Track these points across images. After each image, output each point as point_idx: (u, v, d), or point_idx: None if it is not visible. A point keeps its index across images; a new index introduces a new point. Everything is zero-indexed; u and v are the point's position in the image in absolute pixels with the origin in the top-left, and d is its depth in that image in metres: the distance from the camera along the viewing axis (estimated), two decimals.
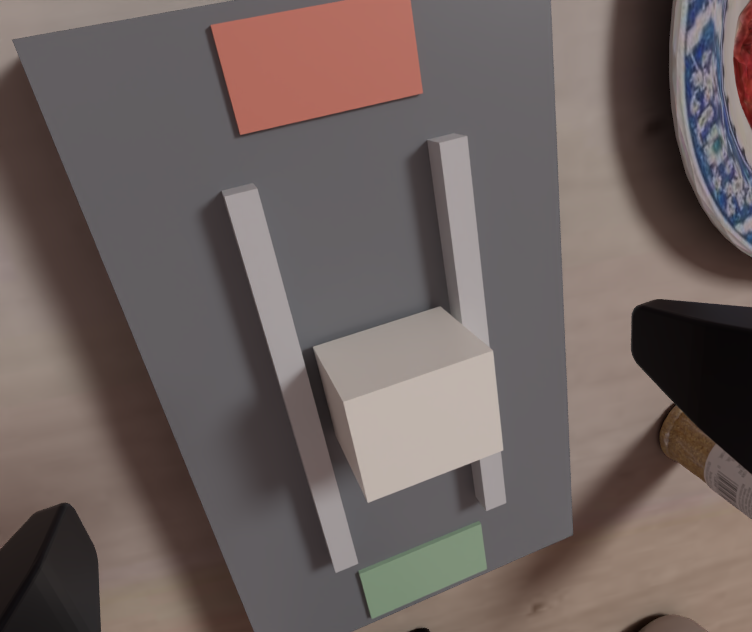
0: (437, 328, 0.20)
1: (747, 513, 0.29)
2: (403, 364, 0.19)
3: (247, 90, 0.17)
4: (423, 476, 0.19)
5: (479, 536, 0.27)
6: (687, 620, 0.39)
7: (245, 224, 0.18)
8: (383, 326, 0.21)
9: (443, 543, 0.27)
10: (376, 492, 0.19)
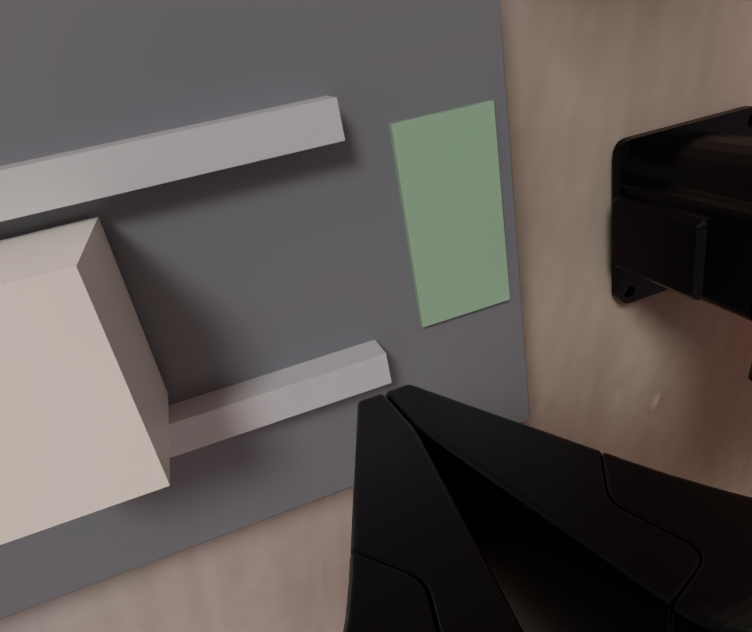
0: None
1: None
2: None
3: None
4: (126, 409, 0.11)
5: (418, 124, 0.15)
6: None
7: None
8: None
9: (411, 195, 0.16)
10: (150, 477, 0.12)
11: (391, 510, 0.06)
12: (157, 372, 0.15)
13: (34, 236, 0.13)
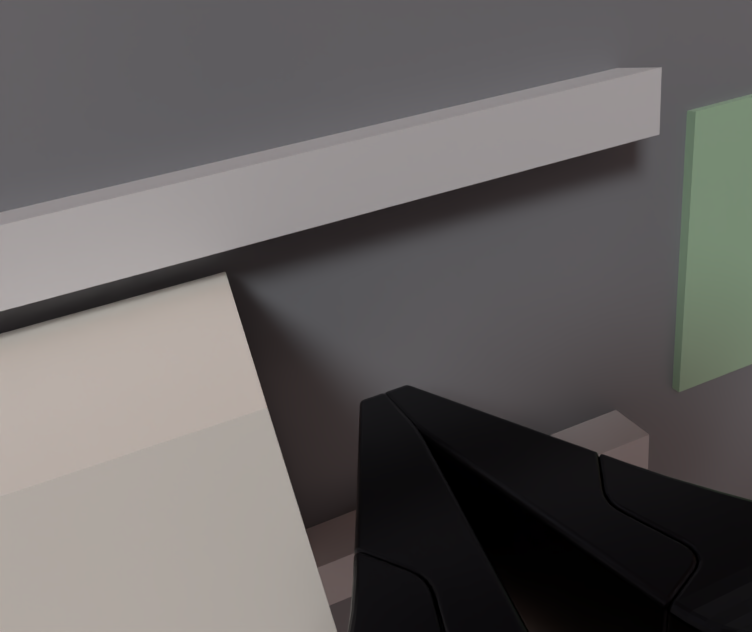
0: None
1: None
2: None
3: None
4: None
5: (728, 111, 0.11)
6: None
7: None
8: None
9: (701, 213, 0.11)
10: None
11: (395, 509, 0.06)
12: None
13: (132, 309, 0.08)
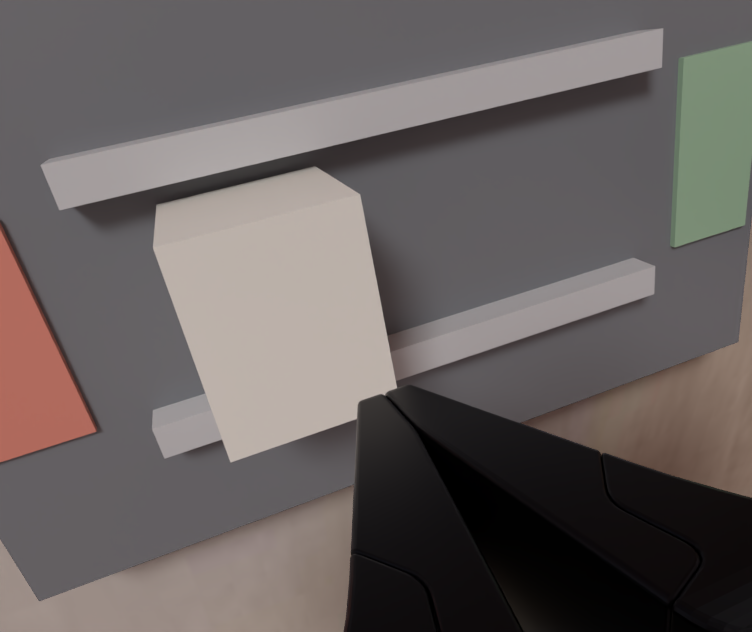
0: None
1: None
2: None
3: (42, 429, 0.15)
4: (377, 330, 0.13)
5: (703, 58, 0.18)
6: None
7: (196, 436, 0.16)
8: None
9: (687, 123, 0.18)
10: None
11: (391, 510, 0.06)
12: None
13: (267, 181, 0.14)
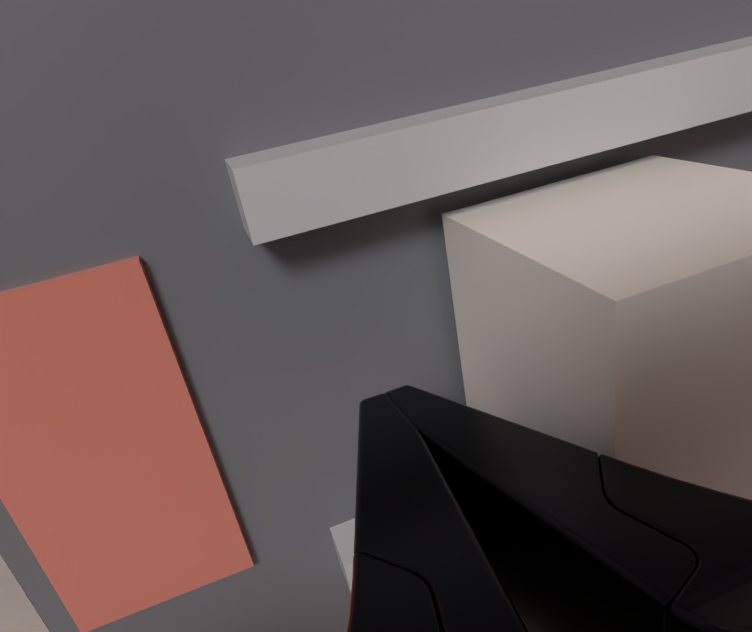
0: (495, 293, 0.08)
1: None
2: None
3: (180, 570, 0.10)
4: None
5: None
6: None
7: None
8: (461, 341, 0.10)
9: None
10: None
11: (394, 509, 0.06)
12: None
13: (606, 178, 0.09)
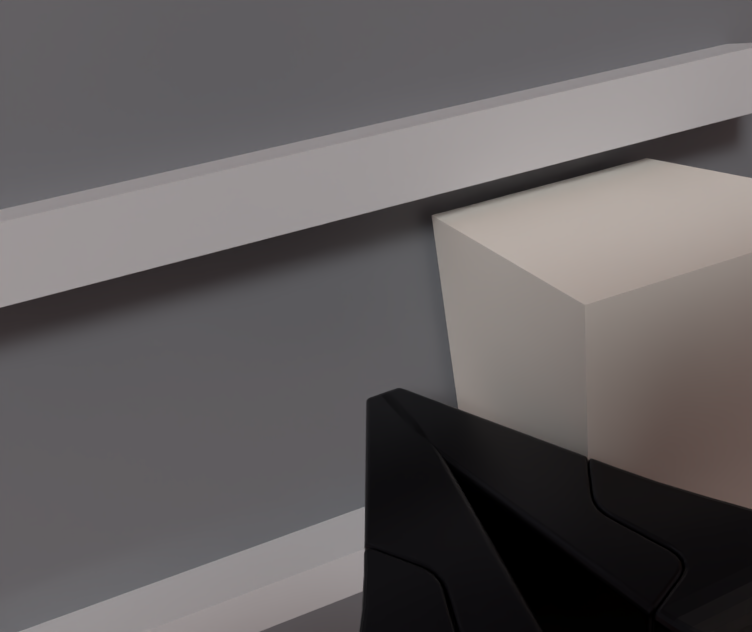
0: (480, 295, 0.08)
1: None
2: None
3: None
4: None
5: None
6: None
7: None
8: (452, 341, 0.10)
9: None
10: None
11: (404, 505, 0.06)
12: None
13: (597, 181, 0.09)
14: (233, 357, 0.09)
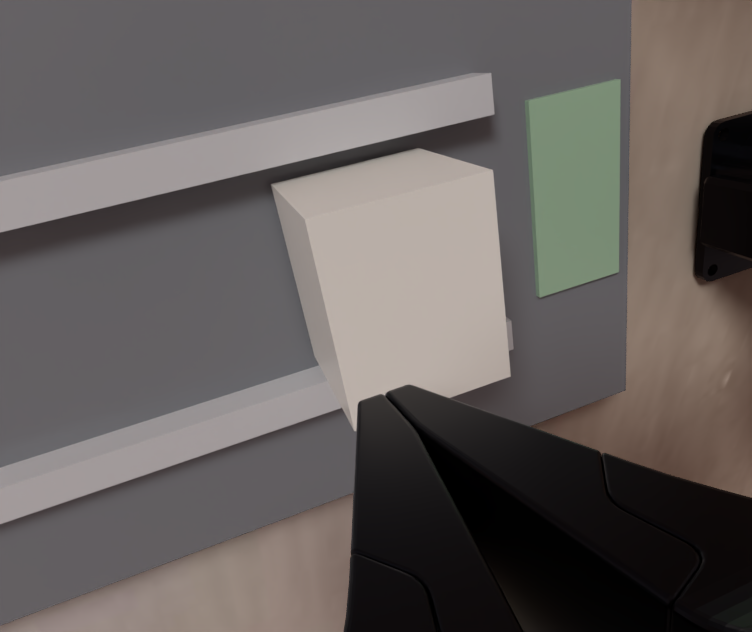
0: (290, 229, 0.14)
1: None
2: (323, 326, 0.13)
3: None
4: (496, 303, 0.13)
5: (552, 101, 0.16)
6: None
7: None
8: (294, 269, 0.16)
9: (540, 169, 0.17)
10: (499, 367, 0.14)
11: (391, 510, 0.06)
12: None
13: (377, 162, 0.15)
14: (150, 275, 0.15)
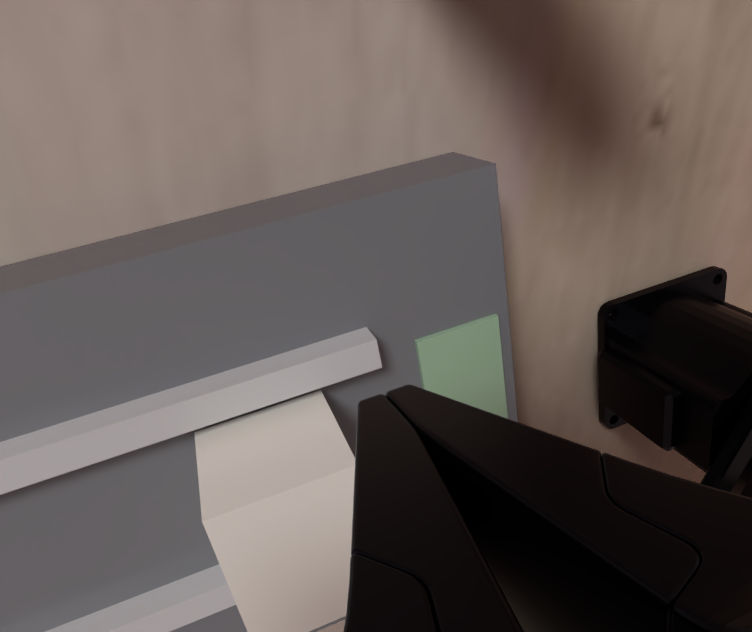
0: None
1: None
2: None
3: None
4: None
5: (438, 339, 0.19)
6: None
7: None
8: None
9: (432, 389, 0.20)
10: None
11: (391, 510, 0.06)
12: None
13: (283, 411, 0.18)
14: (95, 506, 0.18)
